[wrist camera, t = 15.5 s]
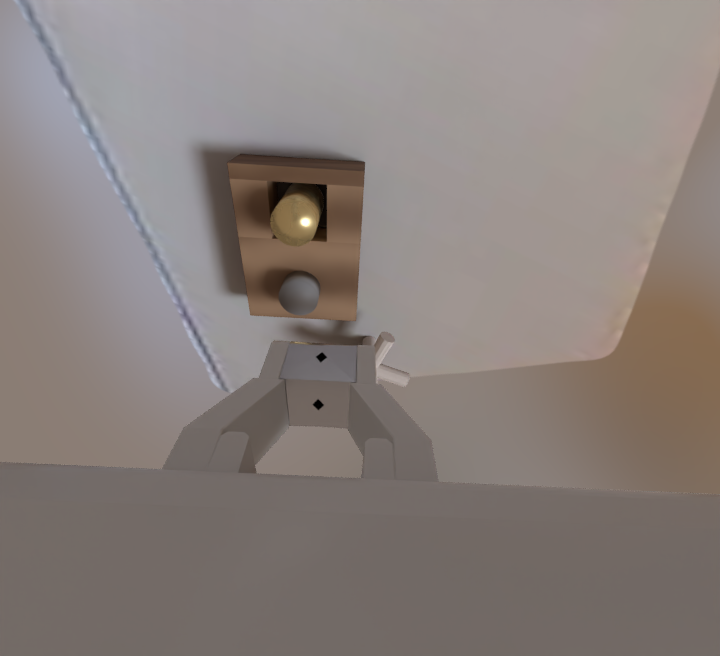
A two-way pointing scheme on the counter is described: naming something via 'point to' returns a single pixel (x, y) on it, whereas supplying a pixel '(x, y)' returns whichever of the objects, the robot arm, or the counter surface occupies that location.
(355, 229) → the jig
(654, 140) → the counter surface
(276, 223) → the tan cylinder
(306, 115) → the counter surface
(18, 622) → the robot arm
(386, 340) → the pipe connector
